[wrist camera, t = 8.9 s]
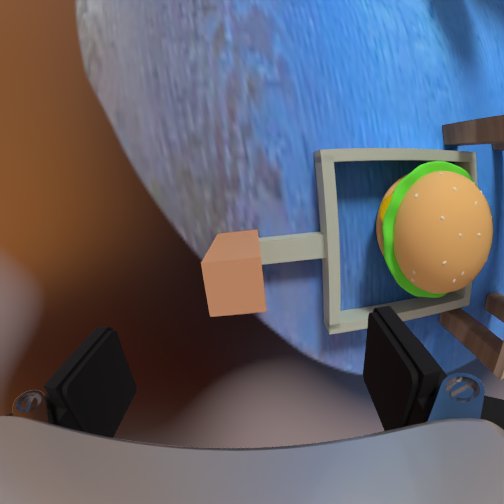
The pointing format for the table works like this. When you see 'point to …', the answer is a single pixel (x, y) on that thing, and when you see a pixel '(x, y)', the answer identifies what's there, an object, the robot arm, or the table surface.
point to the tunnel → (461, 323)
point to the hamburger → (434, 229)
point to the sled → (316, 251)
